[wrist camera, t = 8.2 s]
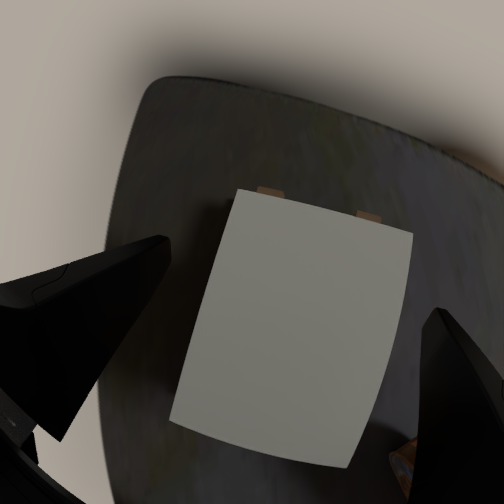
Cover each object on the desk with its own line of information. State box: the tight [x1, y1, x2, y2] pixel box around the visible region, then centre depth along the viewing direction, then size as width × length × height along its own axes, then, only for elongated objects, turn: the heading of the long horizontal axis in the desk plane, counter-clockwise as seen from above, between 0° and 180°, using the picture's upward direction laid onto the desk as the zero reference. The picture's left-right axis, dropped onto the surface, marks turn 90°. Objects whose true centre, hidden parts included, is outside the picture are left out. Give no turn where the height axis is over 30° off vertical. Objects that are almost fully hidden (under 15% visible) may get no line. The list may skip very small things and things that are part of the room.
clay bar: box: [169, 189, 413, 468], centre depth 10 cm, size 4×3×12 cm
